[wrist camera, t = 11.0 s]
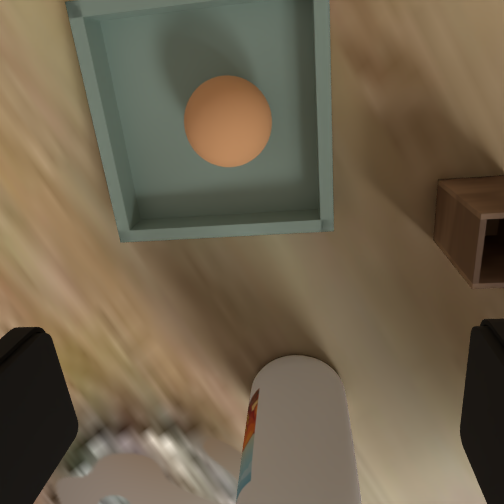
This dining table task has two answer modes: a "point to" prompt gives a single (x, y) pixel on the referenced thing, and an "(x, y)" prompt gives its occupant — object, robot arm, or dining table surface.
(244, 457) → the milk bottle
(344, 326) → the dining table surface
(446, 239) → the wooden box
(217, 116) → the ball
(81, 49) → the tray
